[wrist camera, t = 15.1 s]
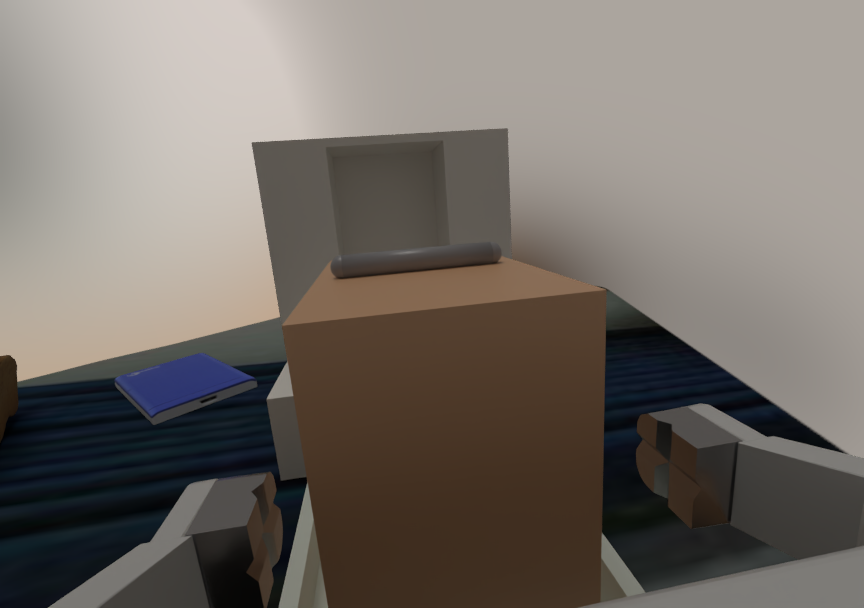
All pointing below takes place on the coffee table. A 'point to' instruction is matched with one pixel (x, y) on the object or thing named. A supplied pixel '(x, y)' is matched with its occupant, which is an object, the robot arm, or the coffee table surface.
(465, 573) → the brown handled box
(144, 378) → the hard drive
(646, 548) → the coffee table surface
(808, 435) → the coffee table surface
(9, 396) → the wooden carving
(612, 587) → the tray
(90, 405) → the coffee table surface
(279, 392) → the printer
